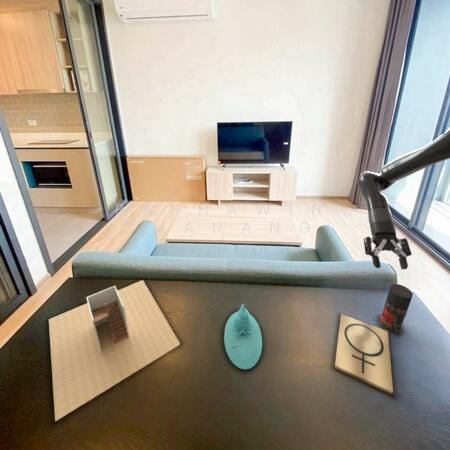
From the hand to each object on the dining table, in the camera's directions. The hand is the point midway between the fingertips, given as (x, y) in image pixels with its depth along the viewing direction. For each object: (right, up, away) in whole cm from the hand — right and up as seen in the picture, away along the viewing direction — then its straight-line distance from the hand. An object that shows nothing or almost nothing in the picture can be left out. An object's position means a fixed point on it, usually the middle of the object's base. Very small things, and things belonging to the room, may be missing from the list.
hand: (391, 268), depth 83 cm
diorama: (-51, -21, -4) cm, 55 cm away
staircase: (-94, -20, -2) cm, 96 cm away
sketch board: (-14, -22, -8) cm, 28 cm away
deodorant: (-1, -19, 0) cm, 19 cm away
